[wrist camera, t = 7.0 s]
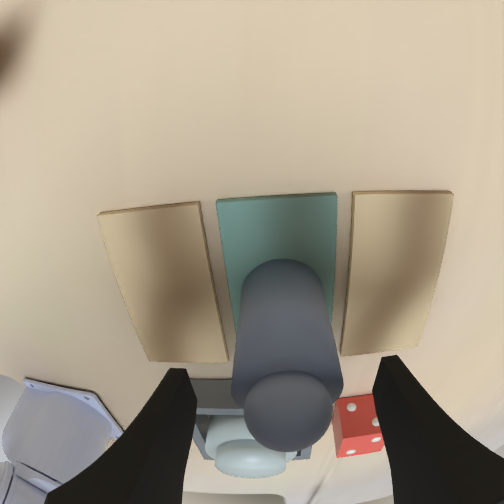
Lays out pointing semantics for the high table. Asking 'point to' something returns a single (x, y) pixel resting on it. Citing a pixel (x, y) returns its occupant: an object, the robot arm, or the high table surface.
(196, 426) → the dome frame
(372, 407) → the red die
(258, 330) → the pawn
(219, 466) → the dome
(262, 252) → the track
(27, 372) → the high table surface
